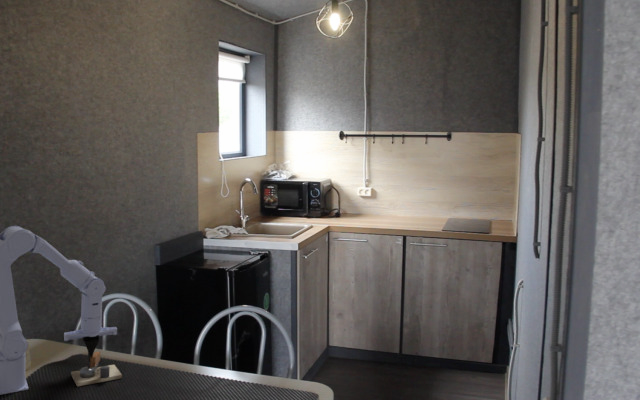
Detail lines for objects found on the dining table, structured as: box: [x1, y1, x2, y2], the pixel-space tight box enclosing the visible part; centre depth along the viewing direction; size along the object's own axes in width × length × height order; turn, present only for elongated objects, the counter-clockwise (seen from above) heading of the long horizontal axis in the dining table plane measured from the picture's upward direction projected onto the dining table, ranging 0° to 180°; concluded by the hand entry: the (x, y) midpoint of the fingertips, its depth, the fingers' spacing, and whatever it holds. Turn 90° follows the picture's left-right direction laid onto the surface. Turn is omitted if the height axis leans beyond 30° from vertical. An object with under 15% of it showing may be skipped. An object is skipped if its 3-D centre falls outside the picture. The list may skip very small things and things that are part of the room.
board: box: [70, 364, 123, 387], centre depth 156 cm, size 12×9×1 cm
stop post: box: [100, 365, 109, 378], centre depth 153 cm, size 2×2×3 cm
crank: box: [79, 351, 101, 378], centre depth 157 cm, size 12×4×3 cm, turn 6°
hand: (90, 360), depth 161 cm, fingers closed, pressing on crank
